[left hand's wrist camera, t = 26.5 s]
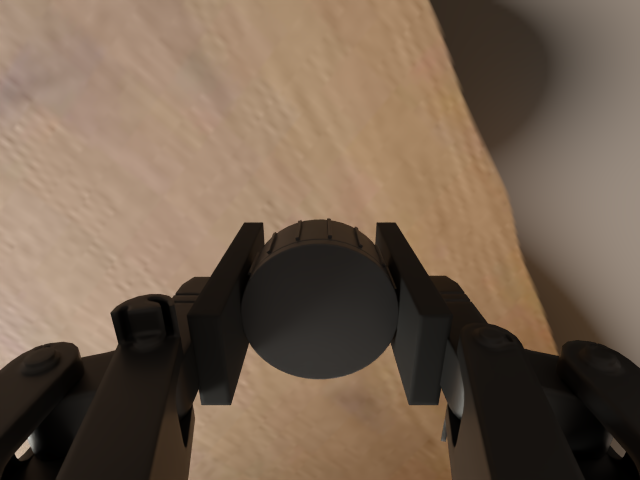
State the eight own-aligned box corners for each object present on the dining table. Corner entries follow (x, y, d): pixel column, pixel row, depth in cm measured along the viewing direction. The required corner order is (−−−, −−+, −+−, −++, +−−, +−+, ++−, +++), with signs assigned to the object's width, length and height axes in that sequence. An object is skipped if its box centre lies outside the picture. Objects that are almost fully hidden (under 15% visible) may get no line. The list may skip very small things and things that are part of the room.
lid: (225, 254, 12) (206, 285, 10) (353, 192, 11) (360, 213, 9) (292, 356, 13) (287, 400, 11) (408, 308, 12) (424, 347, 10)
